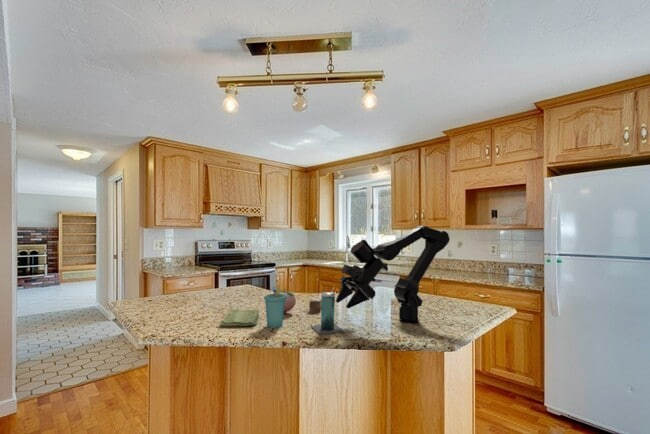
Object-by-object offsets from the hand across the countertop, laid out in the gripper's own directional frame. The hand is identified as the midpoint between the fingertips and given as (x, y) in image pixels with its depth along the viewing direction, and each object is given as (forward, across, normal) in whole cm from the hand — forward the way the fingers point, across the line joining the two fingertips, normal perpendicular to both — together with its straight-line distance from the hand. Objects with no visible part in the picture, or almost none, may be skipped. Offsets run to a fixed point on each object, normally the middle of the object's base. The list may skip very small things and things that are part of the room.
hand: (341, 304), depth 114 cm
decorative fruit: (+16, -26, -4) cm, 31 cm away
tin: (+9, 0, +2) cm, 9 cm away
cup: (+21, -10, -10) cm, 25 cm away
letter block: (+7, -26, +5) cm, 28 cm away
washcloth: (+29, -21, -17) cm, 39 cm away
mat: (+10, 0, +2) cm, 10 cm away
